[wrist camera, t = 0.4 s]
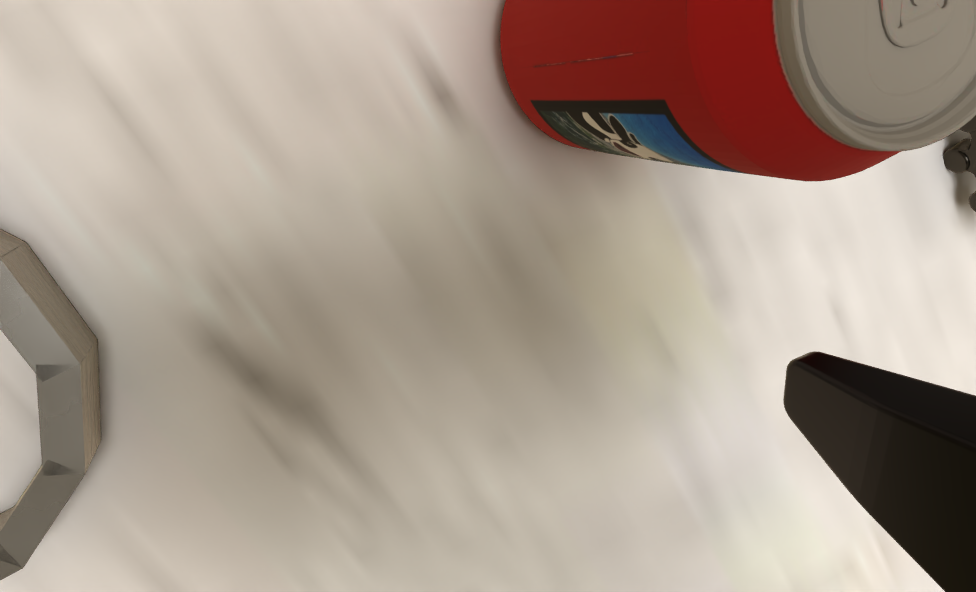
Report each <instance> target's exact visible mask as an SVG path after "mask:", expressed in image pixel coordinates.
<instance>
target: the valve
mask: <svg viewBox="0 0 976 592" xmlns="http://www.w3.org/2000/svg"><path fill="white" fill-rule="evenodd" d="M960 130H962V131H965V132H969V133H970V134H971V137H972V139H971V141H970V138H968V139H963V140H961V141H960V142H958V143H957V144H955V145H954V146H953V147H951V148H950V149H948V150H947V151H945V153H944V154H943V159H944V164H945V166H946V168H948V169H949V170H950V171H952V172H955V173H963V172H965V171H969V172H971V173H973V174H974V175H975V177H976V115H975V116H974V117H973V118H972V119H971V120H970V121H969V122H967V123H966V124H965V125H964V126H962V127H961V128H960ZM969 204H970V206H971V208H972V209H973V210H974V211H975V212H976V191H975V192H974V193H973V194H971V196H970V197H969Z"/></svg>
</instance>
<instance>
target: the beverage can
mask: <svg viewBox="0 0 976 592" xmlns="http://www.w3.org/2000/svg"><path fill="white" fill-rule="evenodd" d="M500 43H501V55H502V62H503V67H504V71H505V75H506V78H507V81H508V84H509V86H510V89H511V91H512V93H513V95H514V97H515V99H516V101H517V102H518V104H519V106H520V107H521V109H522V110H523V112H524V113H525V114H526V115H527V117H528V118H529V119H530V120H531V121H532V122H533V123H534V124H535V125H536V126H537V127H538V128H539V129H540V130H542V131H543V132H544V133H546V134H547V135H549V136H550V137H552V138H553V139H555V140H557V141H559V142H561V143H564V144H566V145H569V146H573V147H577V148H582V149H587V150H593V151H599V152H604V153H610V154H616V155H622V156H629V157H635V158H641V159H647V160H653V161H660V162H667V163H674V164H681V165H688V166H695V167H702V168H709V169H715V170H723V171H730V172H738V173H746V174H753V175H761V176H769V177H777V178H784V179H792V180H801V181H825V180H832V179H837V178H841V177H845V176H848V175H851V174H854V173H857V172H860V171H863V170H865V169H867V168H870V167H872V166H874V165H876V164H878V163H880V162H882V161H884V160H886V159H887V158H889V157H891V156H893V155H895V154H897V153H899V152H901V151H907V150H913V149H917V148H922V147H924V146H927V145H930V144H932V143H935V142H937V141H939V140H942V139H944V138H945V137H947V136H949V135H950V134H952V133H954V132H955V131H957V130H958V129H960V128H961V127H962V126H964V125H965V124H966V123H967V122H969V121H970V120H971V119H972V118H973V117H974V116H975V115H976V0H506V2H505V5H504V9H503V15H502V21H501V34H500Z"/></svg>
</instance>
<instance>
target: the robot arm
mask: <svg viewBox="0 0 976 592" xmlns="http://www.w3.org/2000/svg"><path fill="white" fill-rule="evenodd" d="M784 407H785V410H786V412H787V414H788V416H789V417H790V419H791V420H792V421H793V423H794V424H795V425H796V426H797V428H798V429H799V430H800V431H801V433H802V434H803V435H804V436H805V437H806V439H807V440H808V441H809V442H810V444H811V445H812V446H813V447H814V449H815V450H816V451H817V452H818V454H819V455H820V456H821V457H822V459H823V460H824V461H825V462H826V464H827V465H828V466H829V467H830V469H831V470H832V471H833V472H834V473H835V475H836V476H837V477H838V478H839V480H840V481H841V482H842V483H843V485H844V486H845V487H846V488H847V490H848V491H849V492H850V493H851V494H852V495H853V497H854V498H855V499H856V500H857V501H858V502H859V503H860V504H861V505H862V507H863V508H864V509H865V510H866V511H867V512H868V513H869V514H870V515H871V516H872V517H873V518H874V519H875V520H876V521H877V522H878V523H879V524H880V525H881V526H882V527H883V528H884V529H885V530H886V531H887V533H888V534H889V535H890V536H891V537H892V538H893V539H894V540H895V541H896V542H897V543H898V544H899V545H900V546H901V547H902V548H903V549H904V550H905V551H906V552H907V553H908V554H909V555H910V556H911V557H912V558H913V559H914V560H915V561H916V562H917V563H918V564H919V565H920V566H921V567H922V568H923V569H924V570H925V571H926V572H927V573H928V574H929V576H930V577H931V578H932V579H933V580H934V581H935V582H936V583H937V584H938V585H939V586H940V587H941V588H942V589H943V590H944V591H945V592H976V396H975V395H971V394H968V393H964V392H961V391H957V390H954V389H950V388H946V387H943V386H939V385H936V384H932V383H929V382H925V381H922V380H918V379H914V378H911V377H907V376H904V375H900V374H897V373H893V372H890V371H886V370H882V369H879V368H875V367H872V366H868V365H865V364H861V363H858V362H854V361H850V360H847V359H843V358H840V357H836V356H833V355H829V354H826V353H822V352H810V353H807V354H805V355H803V356H800V357H798V358H796V359H794V360H792V361H790V363H789V364H788V366H787V371H786V380H785V390H784Z"/></svg>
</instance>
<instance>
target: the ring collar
mask: <svg viewBox="0 0 976 592" xmlns="http://www.w3.org/2000/svg"><path fill="white" fill-rule="evenodd" d="M0 329H1V330H2V332H3V333H4V334H5V336H6V337H7V338H8V339H9V341H10V342H11V343H12V344H13V346H14V347H15V348H16V349H17V351H18V352H19V353H20V354H21V356H22V357H23V358H24V359H25V361H26V362H27V363H28V364H29V366H30V367H31V368H32V369H33V371H34V372H35V373H36V377H37V393H38V408H39V424H40V439H41V455H42V465H41V467H40V468H39V470H38V471H37V473H36V475H35V476H34V478H33V479H32V481H31V482H30V484H29V485H28V487H27V488H26V490H25V491H24V493H23V494H22V496H21V497H20V499H19V500H18V502H17V503H16V505H15V507H13V508H11V509H9V510H7V511H5V512H3V513H1V514H0V580H2V579H4V578H5V577H7V576H9V575H11V574H13V573H15V572H17V571H18V570H20V569H22V568H23V567H24V566H25V564H26V563H27V561H28V560H29V558H30V557H31V555H32V554H33V552H34V551H35V549H36V548H37V546H38V545H39V543H40V542H41V540H42V539H43V537H44V536H45V534H46V533H47V531H48V530H49V528H50V527H51V525H52V523H53V522H54V520H55V519H56V517H57V516H58V514H59V513H60V511H61V510H62V508H63V507H64V505H65V504H66V502H67V501H68V499H69V498H70V496H71V495H72V493H73V492H74V490H75V489H76V487H77V486H78V484H79V483H80V481H81V480H82V478H83V477H84V475H85V473H86V471H87V469H88V467H89V465H90V463H91V461H92V458H93V456H94V454H95V452H96V450H97V448H98V446H99V443H100V441H101V422H100V397H99V371H98V346H97V338H96V337H95V335H94V334H93V333H92V331H91V330H90V329H89V327H88V326H87V325H86V323H85V322H84V320H83V319H82V318H81V316H80V315H79V314H78V312H77V311H76V310H75V308H74V307H73V305H72V304H71V303H70V301H69V300H68V299H67V297H66V296H65V295H64V293H63V292H62V290H61V289H60V288H59V286H58V285H57V284H56V282H55V281H54V280H53V278H52V277H51V276H50V274H49V273H48V271H47V270H46V269H45V267H44V266H43V265H42V263H41V262H40V261H39V259H38V258H37V256H36V255H35V254H34V252H33V251H32V250H31V248H30V247H29V246H28V244H27V243H25V241H23V240H21V239H19V238H17V237H15V236H13V235H11V234H9V233H7V232H5V231H3V230H1V229H0Z"/></svg>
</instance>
